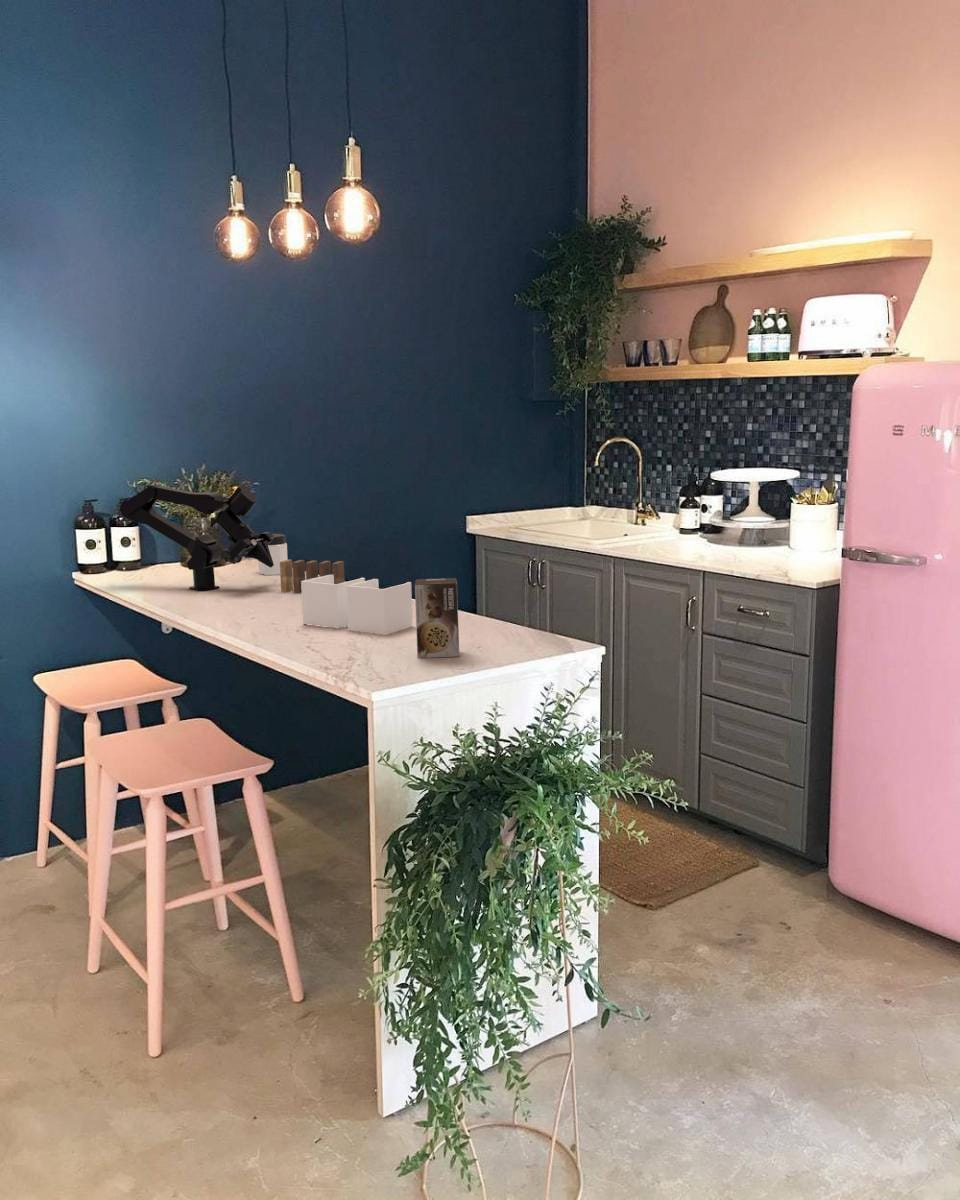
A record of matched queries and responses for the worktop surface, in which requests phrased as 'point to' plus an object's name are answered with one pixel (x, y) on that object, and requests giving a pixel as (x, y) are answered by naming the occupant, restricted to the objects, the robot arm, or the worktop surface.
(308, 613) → the white open box
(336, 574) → the domino
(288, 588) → the domino
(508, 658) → the worktop surface
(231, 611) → the worktop surface
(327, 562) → the domino
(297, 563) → the domino
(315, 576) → the domino
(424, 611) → the coffee box
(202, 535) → the robot arm
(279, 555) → the jar
